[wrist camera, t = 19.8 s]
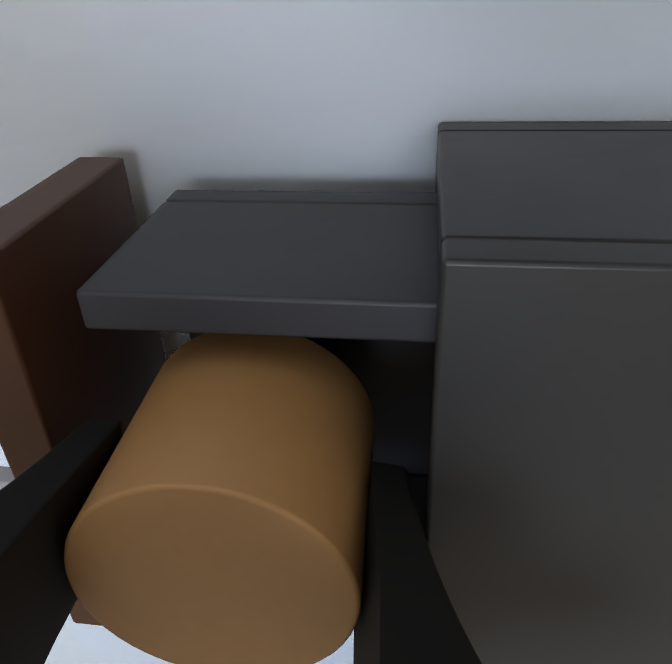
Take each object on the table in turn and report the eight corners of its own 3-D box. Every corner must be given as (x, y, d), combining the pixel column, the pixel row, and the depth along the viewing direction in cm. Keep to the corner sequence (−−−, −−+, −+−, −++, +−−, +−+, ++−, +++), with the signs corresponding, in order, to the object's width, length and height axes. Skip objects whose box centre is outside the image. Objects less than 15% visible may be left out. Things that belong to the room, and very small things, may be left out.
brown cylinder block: (376, 502, 16) (364, 687, 12) (175, 493, 17) (102, 667, 13) (373, 325, 13) (356, 493, 9) (131, 322, 14) (20, 479, 10)
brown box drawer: (24, 456, 22) (-93, 606, 17) (-94, 155, 16) (-316, 250, 12) (541, 492, 20) (576, 676, 15) (605, 158, 14) (694, 277, 9)
